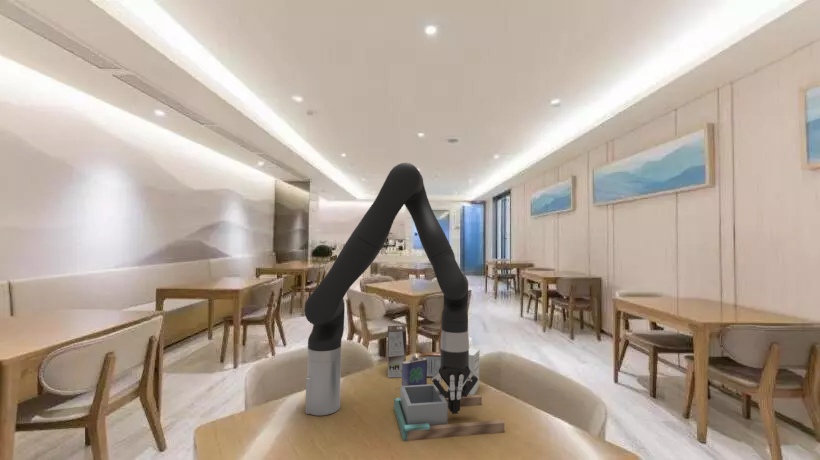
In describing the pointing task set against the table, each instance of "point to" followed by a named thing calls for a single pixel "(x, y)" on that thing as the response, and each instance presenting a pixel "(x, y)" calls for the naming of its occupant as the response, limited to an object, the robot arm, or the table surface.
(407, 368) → the flask
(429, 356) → the tin
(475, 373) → the supplement box
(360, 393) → the table surface
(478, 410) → the table surface
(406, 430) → the bar
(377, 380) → the table surface
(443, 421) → the grey storage bin
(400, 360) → the coffee box
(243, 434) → the table surface
